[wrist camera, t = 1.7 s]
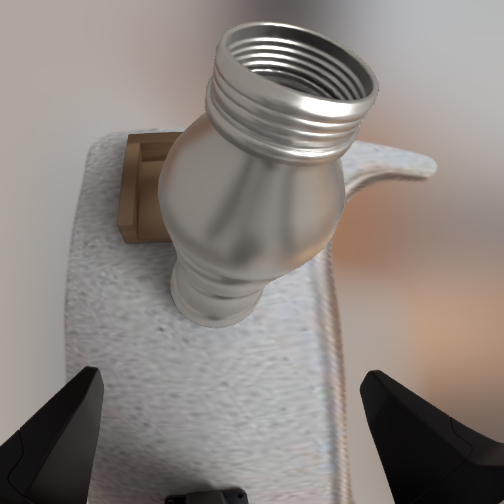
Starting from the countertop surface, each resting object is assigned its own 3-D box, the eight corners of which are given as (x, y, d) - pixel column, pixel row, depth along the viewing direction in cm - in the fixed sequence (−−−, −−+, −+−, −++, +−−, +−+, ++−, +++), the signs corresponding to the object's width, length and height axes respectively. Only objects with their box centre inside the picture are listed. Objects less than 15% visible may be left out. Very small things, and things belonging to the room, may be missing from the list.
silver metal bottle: (161, 268, 23) (123, 12, 5) (236, 243, 25) (335, 14, 7) (189, 344, 21) (191, 220, 3) (267, 313, 23) (471, 153, 5)
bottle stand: (289, 236, 26) (303, 218, 23) (125, 243, 23) (117, 225, 20) (272, 157, 30) (282, 135, 27) (132, 158, 26) (128, 134, 23)
